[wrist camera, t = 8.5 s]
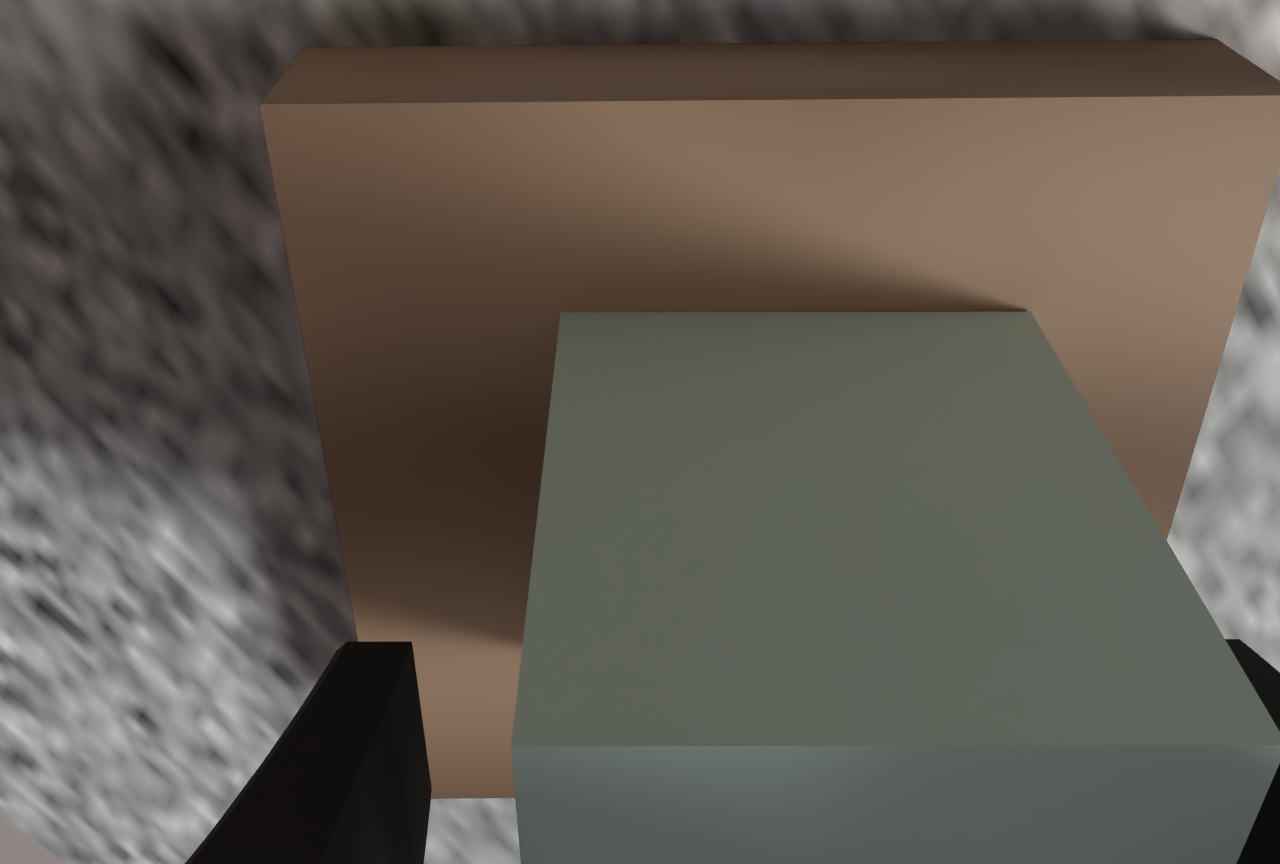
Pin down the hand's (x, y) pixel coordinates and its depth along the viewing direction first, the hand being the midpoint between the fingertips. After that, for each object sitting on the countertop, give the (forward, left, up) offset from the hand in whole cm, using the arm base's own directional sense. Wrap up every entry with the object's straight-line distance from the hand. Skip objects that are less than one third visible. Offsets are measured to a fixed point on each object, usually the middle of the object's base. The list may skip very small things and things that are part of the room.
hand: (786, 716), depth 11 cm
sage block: (0, 0, -3) cm, 3 cm away
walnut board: (0, 0, -6) cm, 6 cm away
